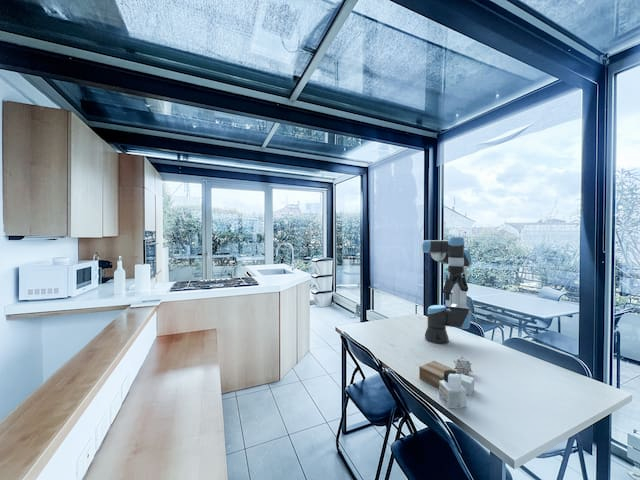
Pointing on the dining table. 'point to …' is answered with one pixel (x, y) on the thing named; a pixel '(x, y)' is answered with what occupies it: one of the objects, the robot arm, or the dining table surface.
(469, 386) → the grey block
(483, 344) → the dining table surface
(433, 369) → the base block
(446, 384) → the container
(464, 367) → the grey spiky ball
